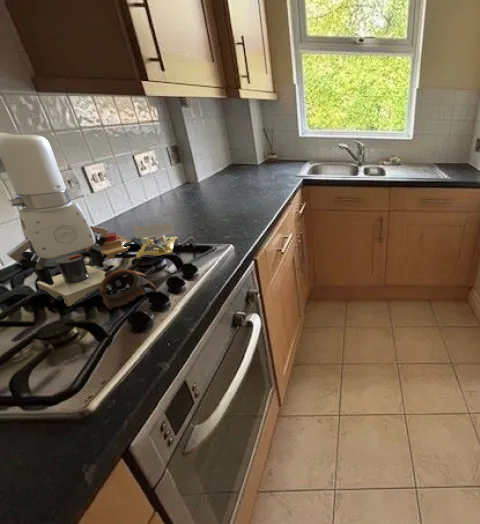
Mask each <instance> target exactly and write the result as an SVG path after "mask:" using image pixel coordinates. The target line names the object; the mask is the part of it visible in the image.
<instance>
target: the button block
mask: <svg viewBox="0 0 480 524" xmlns="http://www.w3.org/2000/svg"><path fill="white" fill-rule="evenodd" d="M117 236H118V239H117V240H115V241H110V242H105V243H104V244H103V246H102V250H101V254H102V255H103V254H105V255H107V257H106V258H105V259H106V260H111V259H114V258H116V257H115V255H116V254H118V253H121V252H125V251H128V249H129V248H130V246H127V247H124V246H123V245H124V244H125V243H128V242H130V241H131V240H130V239H127V238H125V236H124V235H121V234H117ZM89 249H90V248H89V247H88V248H85V249H84V250H85V252H86V253H89V252H88V251H89Z"/></svg>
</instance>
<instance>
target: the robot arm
mask: <svg viewBox="0 0 480 524" xmlns="http://www.w3.org/2000/svg"><path fill="white" fill-rule="evenodd" d="M4 173H6V174H7V177H8V180H9V182H10V183H11V186H12V188H13V191H14V192H15V193H14V196H15V197H14V198H12V199H11V198H10V199H8V203H9V205H10V206H11V207H20V209H19V210H18V215H19V220H20V225H21V231H22V233H23V237H24V240H23V241H22V242H20V243H18V244H17V245H16V246H15V247H13V248H12V249H10V250H9V251H8V252H7V253H6V256H7V257H9V258H10V259H12V260H14V261H15V262H17V263H18V264H20V265H22V266H26V267H28V268H32V269H33V270H34V272H35V275H36V277H37V279H38V282H39V281H40V282H44V283H46V284H48V285H53V284H54V282H53V279H52V277H53V276H52V275H51V273H50V271H49V268H48V267H46V266H45V264H46V262H47V261H48V259H55V258H58V257H62V256H66V255H69V254H71V253H75V252H78V251H79V252H80V251H81V250H86V249H85V248H88V247H89V248H90V249H89V251H88V252H87V253H88V255H89V257H90V260H91V262H92V265H93V266H94V267H98V268H100V269H101V268H105V265H104V262H105V258H103V256H102V254H101V250H102V246H103V244H104V243H105V241H106V239H105V238H106V235H107V233H108V229H107V228H104V227H100V226H94V225H90V223H89V222H88V220H87V219H88V218H87V217H86V216H85V213H84V212H83V211H82V209H81V207H80V206H79V204H78V202H77V201H72V200H71V198H70V195H69V192H68V189H67V186H66V184H65V181H64V178H63V176H62V173H61V170H60V169H59V165H58V162H57V159H56V157H55V153H54V151H53V149H52V146H51V143H50V142H49V140H48V139H47V138H46V137H44V136H43V135H37V134H11V133H7V132H0V174H4ZM94 233H97V236H96V237H95V235H94ZM28 250H29V251H30V252H31V254H33V255H32V256H31V259H28V258H26V257H25V256H23V254H24V253H26V252H27V251H28Z"/></svg>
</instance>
